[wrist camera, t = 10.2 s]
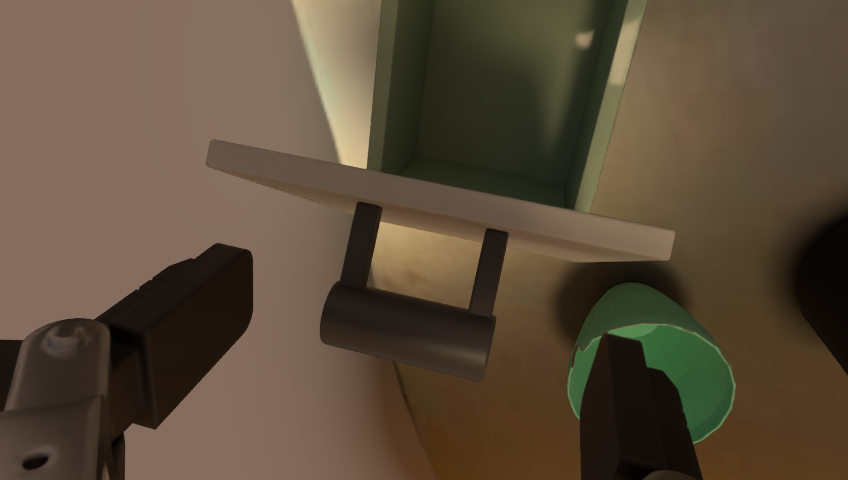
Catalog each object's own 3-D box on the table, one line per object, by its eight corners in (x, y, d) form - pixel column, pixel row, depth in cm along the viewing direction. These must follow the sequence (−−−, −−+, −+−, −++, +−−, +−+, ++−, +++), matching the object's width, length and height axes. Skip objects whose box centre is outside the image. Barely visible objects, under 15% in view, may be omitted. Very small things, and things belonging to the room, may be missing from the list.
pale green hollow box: (435, -92, 36) (392, -121, 27) (641, -66, 34) (672, -88, 25) (405, 161, 43) (362, 207, 34) (574, 193, 41) (579, 252, 32)
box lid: (209, 137, 16) (169, 321, 16) (677, 230, 14) (633, 437, 14) (361, 203, 33) (342, 291, 33) (581, 248, 32) (561, 342, 32)
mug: (557, 259, 44) (556, 328, 35) (696, 244, 41) (734, 315, 32) (580, 413, 49) (584, 508, 40) (705, 409, 46) (740, 510, 37)
